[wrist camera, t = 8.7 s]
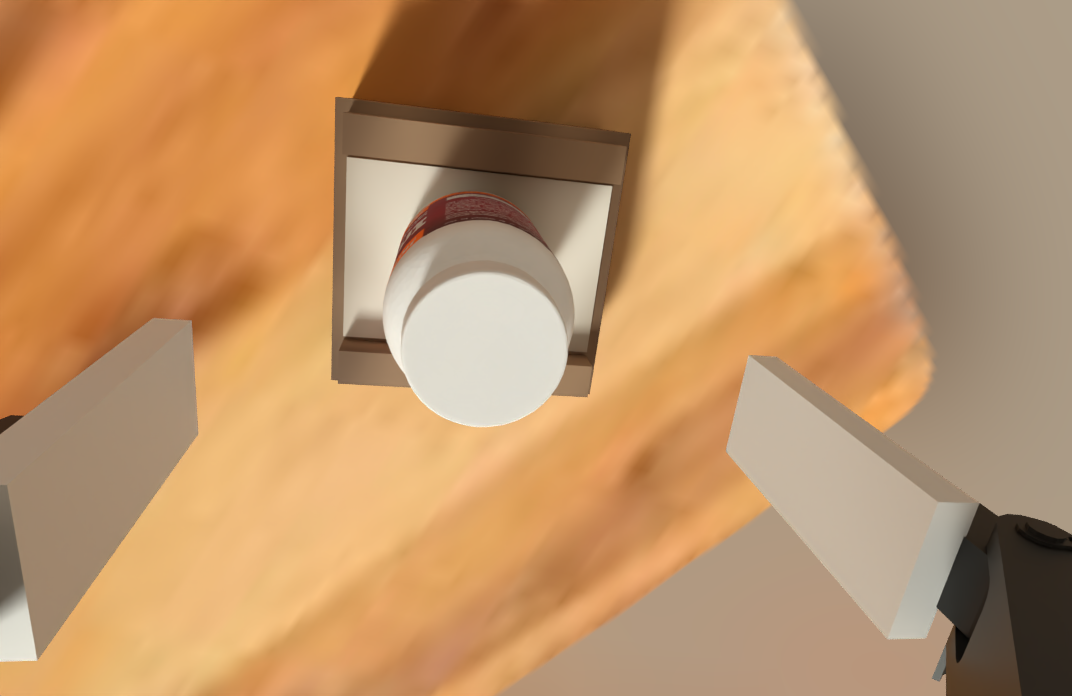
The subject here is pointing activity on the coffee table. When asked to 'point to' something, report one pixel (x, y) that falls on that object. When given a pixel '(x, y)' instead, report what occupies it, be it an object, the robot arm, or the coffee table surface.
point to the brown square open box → (458, 165)
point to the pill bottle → (478, 310)
